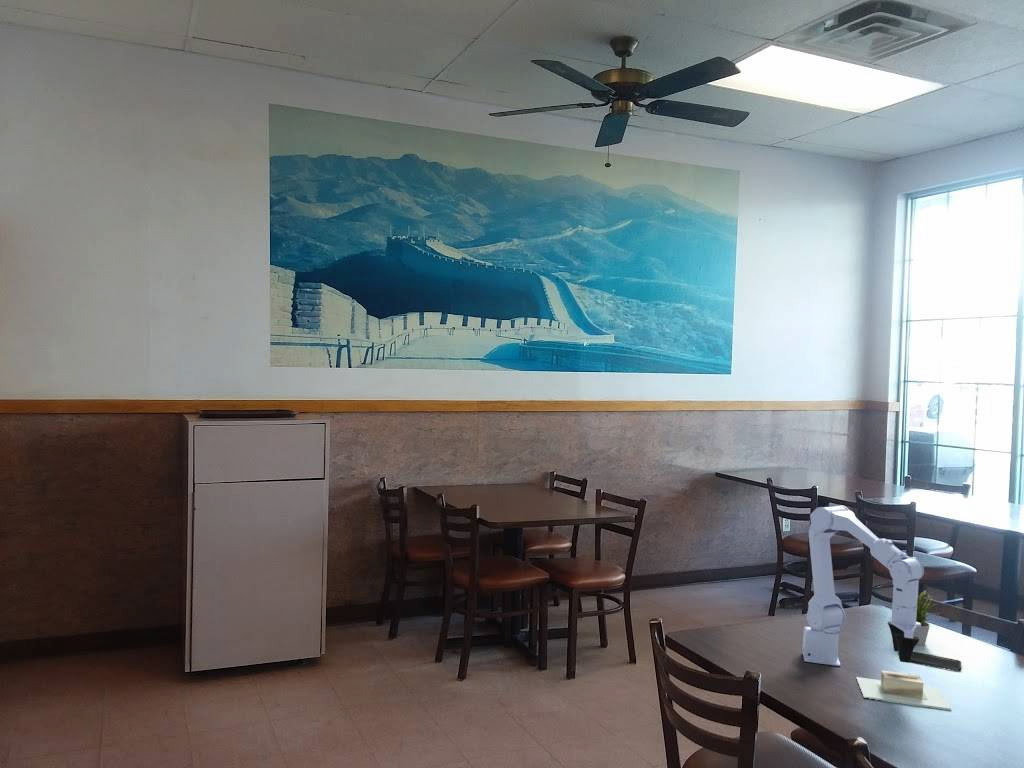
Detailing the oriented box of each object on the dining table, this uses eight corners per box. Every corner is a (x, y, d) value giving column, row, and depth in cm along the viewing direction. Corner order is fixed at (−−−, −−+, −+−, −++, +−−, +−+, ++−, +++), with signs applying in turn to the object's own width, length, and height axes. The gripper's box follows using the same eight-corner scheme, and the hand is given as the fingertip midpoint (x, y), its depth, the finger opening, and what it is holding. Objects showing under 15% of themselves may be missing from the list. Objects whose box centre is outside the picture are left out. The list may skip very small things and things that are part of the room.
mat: (863, 698, 204) (863, 696, 204) (856, 678, 216) (856, 676, 216) (951, 710, 199) (951, 708, 199) (938, 689, 211) (938, 687, 211)
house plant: (894, 629, 258) (897, 579, 257) (943, 640, 250) (946, 588, 249) (885, 642, 246) (888, 589, 245) (935, 653, 238) (939, 598, 237)
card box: (922, 698, 204) (923, 682, 204) (883, 693, 206) (884, 677, 206) (918, 690, 209) (919, 675, 209) (880, 685, 211) (881, 670, 211)
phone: (903, 649, 238) (961, 660, 231) (903, 653, 238) (960, 664, 231) (901, 657, 231) (961, 669, 224) (901, 661, 231) (960, 673, 224)
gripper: (928, 615, 200) (924, 669, 201) (915, 598, 214) (912, 648, 214) (897, 611, 202) (893, 665, 202) (886, 595, 216) (883, 645, 216)
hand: (901, 656), depth 209 cm, fingers open, 7 cm apart
